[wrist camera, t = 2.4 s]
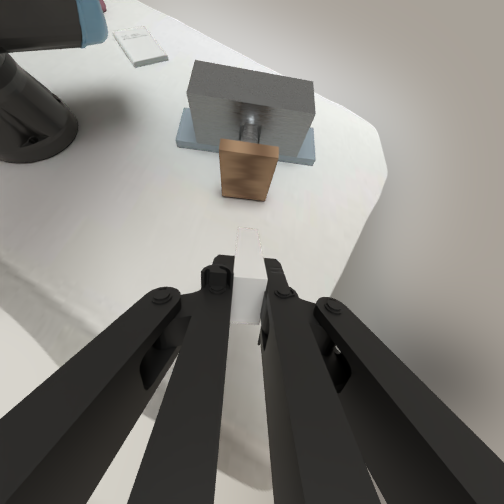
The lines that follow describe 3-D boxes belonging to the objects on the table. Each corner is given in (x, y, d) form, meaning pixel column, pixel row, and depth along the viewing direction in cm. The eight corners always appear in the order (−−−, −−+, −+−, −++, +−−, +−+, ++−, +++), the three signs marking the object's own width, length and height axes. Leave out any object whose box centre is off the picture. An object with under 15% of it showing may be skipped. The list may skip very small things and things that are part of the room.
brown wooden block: (222, 195, 33) (218, 149, 23) (228, 148, 36) (227, 91, 27) (265, 200, 33) (278, 158, 24) (267, 153, 37) (279, 100, 28)
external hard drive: (136, 71, 42) (115, 40, 44) (169, 63, 44) (147, 34, 46) (132, 62, 40) (111, 30, 43) (167, 54, 42) (144, 24, 45)
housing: (177, 146, 36) (158, 88, 26) (185, 115, 38) (170, 51, 29) (312, 165, 38) (339, 118, 29) (310, 134, 41) (334, 81, 31)
